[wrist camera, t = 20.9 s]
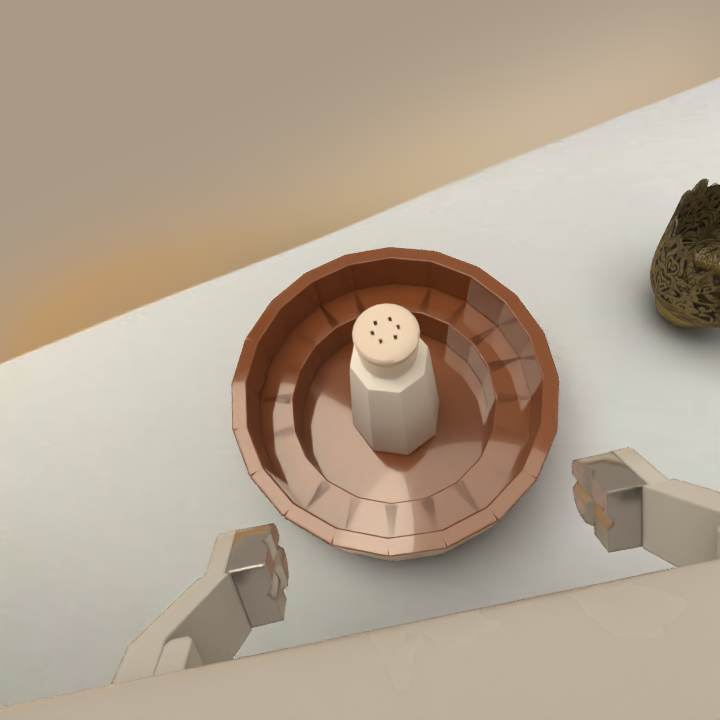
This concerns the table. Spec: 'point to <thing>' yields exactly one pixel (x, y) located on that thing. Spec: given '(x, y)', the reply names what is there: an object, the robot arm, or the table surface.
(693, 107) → the table surface
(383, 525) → the bowl
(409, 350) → the salt shaker
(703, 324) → the cup
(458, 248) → the table surface
